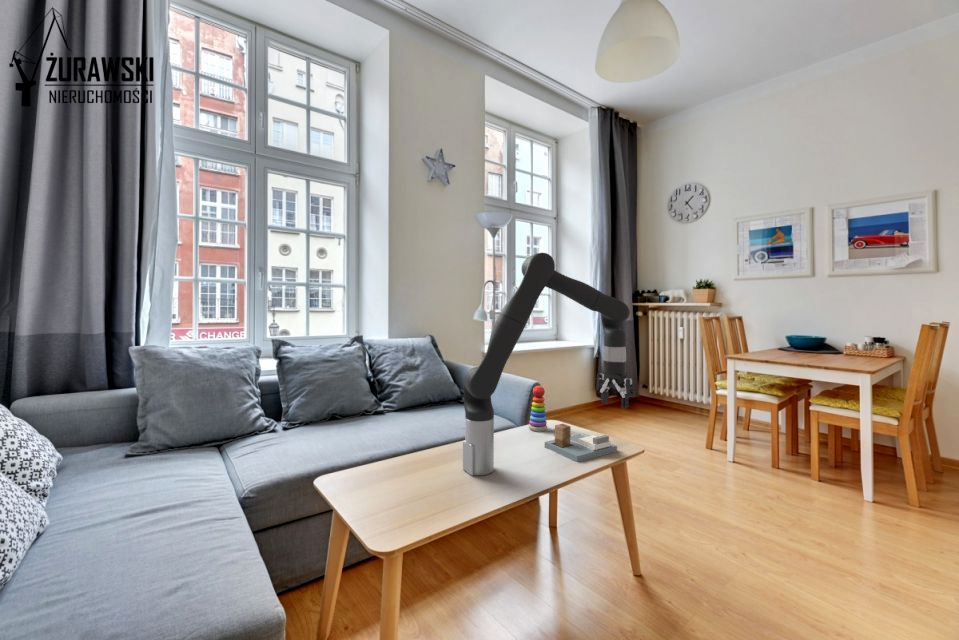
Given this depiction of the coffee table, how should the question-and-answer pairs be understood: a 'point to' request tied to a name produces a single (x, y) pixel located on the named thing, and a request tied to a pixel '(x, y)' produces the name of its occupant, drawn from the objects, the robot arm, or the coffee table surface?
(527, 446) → the coffee table surface
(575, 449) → the puzzle board
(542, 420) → the stacking toy
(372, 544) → the coffee table surface
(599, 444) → the lid
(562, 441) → the walnut post
